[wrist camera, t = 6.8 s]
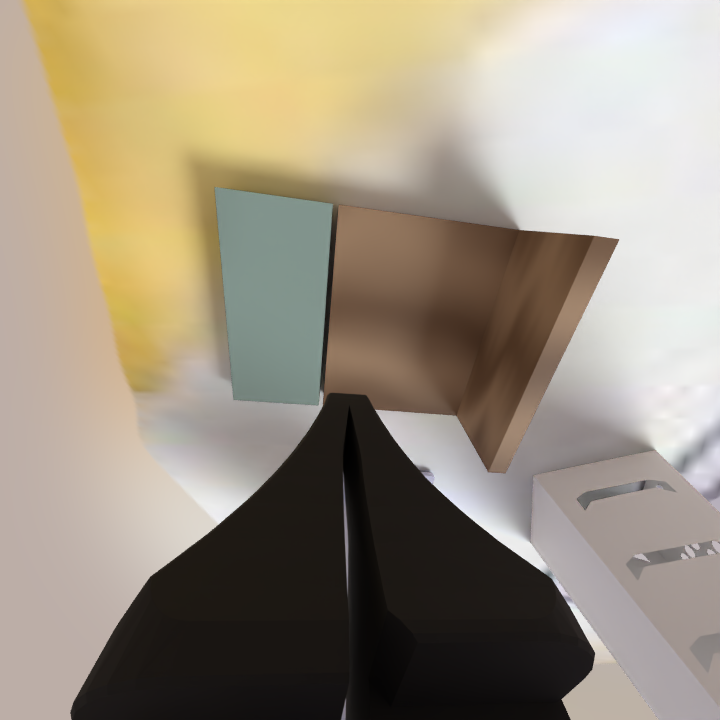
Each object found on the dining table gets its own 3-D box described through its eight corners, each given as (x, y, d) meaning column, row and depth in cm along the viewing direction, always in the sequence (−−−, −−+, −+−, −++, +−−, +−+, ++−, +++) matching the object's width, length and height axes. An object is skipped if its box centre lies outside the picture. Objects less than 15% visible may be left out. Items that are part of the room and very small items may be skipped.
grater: (655, 449, 25) (1458, 1053, 7) (632, 522, 29) (1076, 994, 12) (533, 474, 25) (973, 1079, 8) (530, 542, 30) (798, 1014, 12)
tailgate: (318, 405, 19) (233, 399, 19) (319, 394, 20) (239, 388, 20) (332, 203, 14) (214, 186, 13) (333, 204, 15) (224, 189, 14)
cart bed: (462, 404, 22) (505, 473, 16) (324, 393, 21) (316, 463, 15) (521, 231, 16) (619, 239, 10) (339, 205, 15) (335, 198, 9)
